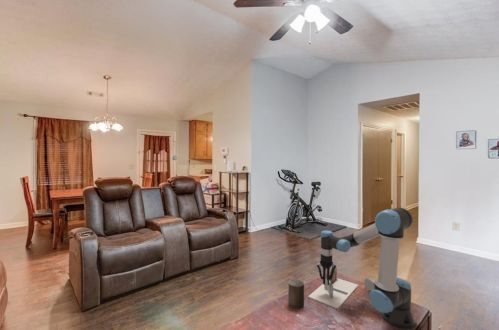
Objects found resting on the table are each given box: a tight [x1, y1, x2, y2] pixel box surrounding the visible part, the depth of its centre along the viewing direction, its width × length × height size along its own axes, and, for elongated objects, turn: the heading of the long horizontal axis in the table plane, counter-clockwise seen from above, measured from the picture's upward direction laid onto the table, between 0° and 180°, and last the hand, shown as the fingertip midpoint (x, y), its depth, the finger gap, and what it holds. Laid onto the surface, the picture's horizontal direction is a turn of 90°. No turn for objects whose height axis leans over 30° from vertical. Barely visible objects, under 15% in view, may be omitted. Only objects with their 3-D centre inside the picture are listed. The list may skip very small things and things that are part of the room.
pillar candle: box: [287, 278, 305, 309], centre depth 160 cm, size 10×10×15 cm
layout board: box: [307, 278, 359, 310], centre depth 176 cm, size 38×20×1 cm, turn 139°
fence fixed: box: [326, 267, 338, 284], centre depth 186 cm, size 17×2×8 cm, turn 139°
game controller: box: [363, 277, 375, 292], centre depth 173 cm, size 20×2×8 cm, turn 12°
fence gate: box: [326, 277, 333, 298], centre depth 172 cm, size 14×2×8 cm, turn 175°
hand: (325, 289), depth 171 cm, fingers closed
